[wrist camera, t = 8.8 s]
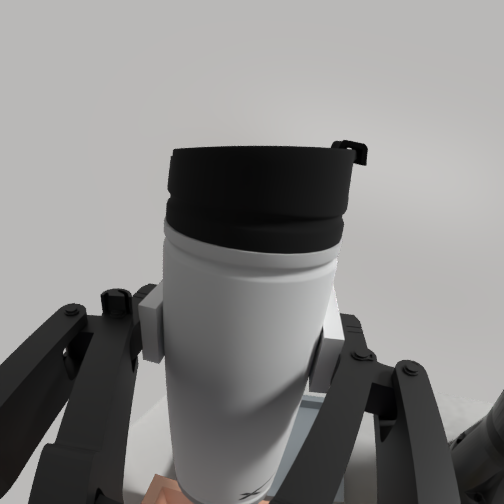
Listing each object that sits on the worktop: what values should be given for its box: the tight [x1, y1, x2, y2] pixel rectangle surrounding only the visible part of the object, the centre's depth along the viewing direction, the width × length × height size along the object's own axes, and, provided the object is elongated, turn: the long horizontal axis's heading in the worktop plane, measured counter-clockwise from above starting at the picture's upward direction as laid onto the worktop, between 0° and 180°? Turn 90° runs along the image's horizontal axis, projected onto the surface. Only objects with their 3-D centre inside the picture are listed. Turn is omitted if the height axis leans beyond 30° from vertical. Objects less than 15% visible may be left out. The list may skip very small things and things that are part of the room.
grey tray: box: [263, 395, 344, 504], centre depth 31 cm, size 16×16×2 cm
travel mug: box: [163, 140, 368, 504], centre depth 13 cm, size 6×7×20 cm
